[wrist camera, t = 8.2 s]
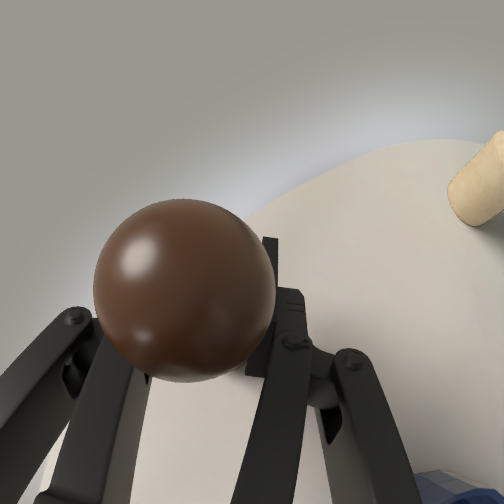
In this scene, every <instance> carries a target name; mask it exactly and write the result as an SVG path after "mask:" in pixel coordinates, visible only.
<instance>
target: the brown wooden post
mask: <svg viewBox="0 0 504 504" xmlns="http://www.w3.org/2000/svg"><path fill="white" fill-rule="evenodd" d="M275 295H276V289H275V278H274V272H273V268H272V265H271V262H270V259H269V256H268V254H267V252H266V250H265V248H264V246H263V244H262V243H261V241H260V240H259V238H258V237H257V235H256V234H255V233H254V232H253V231H252V230H251V228H250V227H249V226H248V225H247V224H245V223H244V222H243V221H242V220H241V219H240V218H238V217H237V216H235V215H234V214H232V213H231V212H229V211H228V210H226V209H224V208H222V207H220V206H217V205H214V204H211V203H208V202H204V201H199V200H192V199H172V200H167V201H162V202H158V203H155V204H152V205H149V206H147V207H145V208H143V209H141V210H139V211H138V212H136V213H134V214H133V215H131V216H130V217H129V218H127V219H126V220H125V221H124V222H123V223H122V224H120V225H119V227H117V229H116V230H115V231H114V232H113V234H112V235H111V236H110V238H109V239H108V241H107V242H106V244H105V245H104V247H103V249H102V251H101V254H100V256H99V259H98V262H97V265H96V269H95V275H94V285H93V296H94V305H95V311H96V314H97V318H98V321H99V324H100V326H101V328H102V330H103V332H104V334H105V336H106V337H107V339H108V341H109V342H110V344H111V345H112V347H113V348H114V349H115V350H116V351H117V352H118V354H119V355H120V356H121V357H122V358H124V359H125V360H126V361H127V362H128V363H129V364H131V365H132V366H134V367H135V368H137V369H138V370H140V371H142V372H144V373H146V374H148V375H150V376H152V377H155V378H158V379H161V380H165V381H171V382H180V383H191V382H200V381H205V380H209V379H213V378H216V377H218V376H221V375H223V374H226V373H227V372H229V371H231V370H233V369H235V368H239V367H241V366H243V365H245V364H246V361H247V358H248V357H249V356H250V355H251V354H252V353H253V352H254V351H255V349H256V348H257V347H258V345H259V344H260V343H261V341H262V339H263V338H264V336H265V334H266V332H267V330H268V327H269V325H270V322H271V319H272V315H273V311H274V306H275Z"/></svg>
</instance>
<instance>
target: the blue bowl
mask: <svg viewBox="0 0 504 504" xmlns="http://www.w3.org/2000/svg"><path fill="white" fill-rule="evenodd" d="M414 478H415V481H416V484H417V487H418V490H419V493H420V496H421V500H422V503H423V504H504V497H503V496H502V495H501V494H500V493H498V492H497V491H496V490H495V489H493V488H490V487H488V486H485V485H482V484H480V483H477V482H475V481H472V480H470V479H468V478H465V477H463V476H460V475H458V474H456V473H452V472H446V471H441V470H437V471H431V472H426V473H420V474H416V475H414Z"/></svg>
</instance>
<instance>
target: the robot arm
mask: <svg viewBox="0 0 504 504" xmlns="http://www.w3.org/2000/svg"><path fill="white" fill-rule="evenodd" d="M262 244H263V246H264V248H265V250H266V252H267V254H268V256H269V259H270V262H271V265H272V268H273V272H274V278H275V289H276V295H275V306H274V311H273V315H272V319H271V322H270V325H269V327H268V330H267V332H266V334H265V336H264V338H263V339H262V341H261V343H260V344H259V345H258V347H257V348H256V349H255V351H254V352H253V353H252V354H251V355H250V356H249V357H248V358H247V361H246V369H245V375H246V376H253V377H262V378H265V379H264V383H263V387H262V391H261V395H260V399H259V403H258V407H257V410H256V414H255V418H254V422H253V426H252V429H251V433H250V437H249V440H248V444H247V448H246V451H245V455H244V458H243V462H242V465H241V469H240V472H239V476H238V479H237V483H236V486H235V490H234V493H233V496H232V500H231V503H230V504H293V498H294V492H295V486H296V480H297V474H298V468H299V461H300V455H301V448H302V441H303V433H304V426H305V418H306V410H307V405H309V406H312V407H315V413H316V418H317V423H318V428H319V433H320V439H321V444H322V449H323V454H324V459H325V465H326V470H327V475H328V481H329V486H330V491H331V497H332V503H333V504H423V503H422V500H421V496H420V493H419V490H418V487H417V484H416V481H415V478H414V475H413V472H412V469H411V466H410V463H409V460H408V457H407V454H406V451H405V449H404V446H403V443H402V440H401V437H400V435H399V432H398V429H397V427H396V424H395V421H394V418H393V416H392V413H391V411H390V408H389V405H388V403H387V400H386V398H385V395H384V393H383V390H382V387H381V385H380V382H379V380H378V378H377V375H376V373H375V370H374V368H373V365H372V363H371V361H370V359H369V358H368V356H367V355H365V354H364V353H363V352H361V351H359V350H356V349H351V348H346V349H341V350H340V351H338V352H337V353H336V355H333V354H330V353H327V352H324V351H322V350H320V349H318V348H316V347H315V346H314V345H313V343H312V340H311V339H310V338H309V336H308V331H307V321H306V313H305V301H304V296H303V295H302V293H301V292H300V291H299V289H291V288H284V287H278V238H271V237H263V240H262ZM151 382H152V376H150V375H148V374H146V373H144V372H142V371H140V370H138V369H137V368H135V367H134V366H132V365H131V364H129V363H128V362H127V361H126V360H125V359H124V358H122V357H121V356H120V355H119V354H118V352H117V351H116V350H115V349H114V348H113V347H112V345H111V344H110V342H109V341H108V339H107V337H106V336H105V334H104V332H103V330H102V328H101V326H100V324H99V321H98V318H92V314H91V312H90V311H89V310H88V309H86V308H84V307H79V306H77V307H71V308H68V309H66V310H64V311H63V312H62V313H60V314H59V315H58V316H57V318H55V319H54V320H53V321H52V323H50V324H49V325H48V326H47V327H46V328H45V330H43V331H42V332H41V333H40V334H39V335H38V336H37V337H36V339H35V340H34V341H33V342H32V343H31V344H30V345H29V346H28V347H27V348H26V349H25V350H24V351H23V352H22V353H21V354H20V355H19V356H18V357H17V359H16V360H15V361H14V362H13V363H12V364H11V365H10V366H9V367H8V368H7V369H6V371H5V372H4V373H3V374H2V375H1V376H0V504H17V503H18V501H19V499H20V498H21V496H22V494H23V493H24V491H25V489H26V488H27V486H28V484H29V483H30V481H31V479H32V478H33V476H34V475H35V473H36V472H37V470H38V468H39V467H40V465H41V464H42V462H43V460H44V459H45V457H46V456H47V454H48V453H49V451H50V450H51V448H52V446H53V445H54V443H55V442H56V440H57V439H58V437H59V436H60V434H61V433H62V431H63V430H64V428H65V427H66V425H67V424H68V422H69V421H70V422H69V425H68V428H67V431H66V434H65V437H64V440H63V443H62V446H61V450H60V453H59V456H58V459H57V463H56V466H55V469H54V473H53V476H52V480H51V483H50V486H49V488H48V489H47V490H46V491H43V492H40V493H39V494H38V495H37V496H36V498H35V500H34V503H33V504H130V497H131V490H132V483H133V477H134V471H135V465H136V459H137V453H138V447H139V442H140V436H141V431H142V426H143V420H144V415H145V410H146V405H147V401H148V396H149V391H150V386H151ZM70 419H71V420H70Z"/></svg>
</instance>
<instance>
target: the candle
mask: <svg viewBox="0 0 504 504" xmlns="http://www.w3.org/2000/svg"><path fill="white" fill-rule="evenodd" d="M448 198H449V201H450V204H451V206H452V208H453V210H454V212H455V213H456V215H457V216H458V217H459V218H460V219H461V220H462V221H464V222H465V223H466V224H468V225H471V226H479V225H482V224H483V223H485V222H487V221H488V220H490V219H491V218H492V217H494V216H495V215H497V214H498V213H500V212H501V211H502V210H504V131H503V130H502V131H498V132H497V133H496V134H495V135H494V136H493V137H492V138H491V140H490V141H489V142H488V143H487V144H486V145H485V146H484V147H483V148H482V149H481V150H480V151H479V152H478V153H477V154H476V155H475V156H474V157H473V158H472V159H471V161H470V162H469V163H468V164H467V165H466V166H465V167H464V168H463V169H462V170H461V171H460V172H459V173H458V174H457V175H456V176H455V177H454V178H453V179H452V180H451V182H450V183H449V186H448Z"/></svg>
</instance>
